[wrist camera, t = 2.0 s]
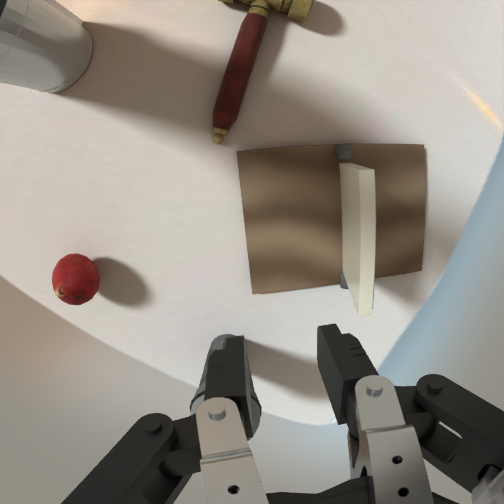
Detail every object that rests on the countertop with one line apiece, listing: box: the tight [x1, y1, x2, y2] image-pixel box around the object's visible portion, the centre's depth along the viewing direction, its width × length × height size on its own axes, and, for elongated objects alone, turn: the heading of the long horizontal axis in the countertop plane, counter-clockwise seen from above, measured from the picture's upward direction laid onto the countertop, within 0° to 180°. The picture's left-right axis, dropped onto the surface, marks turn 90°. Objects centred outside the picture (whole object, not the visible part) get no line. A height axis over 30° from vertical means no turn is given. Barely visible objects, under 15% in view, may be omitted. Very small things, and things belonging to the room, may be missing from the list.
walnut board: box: [237, 144, 425, 294], centre depth 33 cm, size 16×22×3 cm
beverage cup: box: [190, 334, 261, 441], centre depth 30 cm, size 7×7×20 cm
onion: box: [52, 254, 100, 305], centre depth 31 cm, size 6×6×8 cm
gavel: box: [213, 0, 314, 144], centre depth 27 cm, size 21×5×10 cm
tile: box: [339, 163, 376, 316], centre depth 28 cm, size 12×10×1 cm
